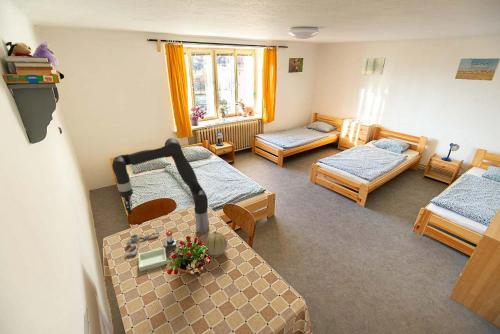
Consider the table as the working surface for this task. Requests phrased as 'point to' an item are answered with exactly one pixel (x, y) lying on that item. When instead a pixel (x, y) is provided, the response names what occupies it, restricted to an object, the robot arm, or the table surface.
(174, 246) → the tensioner block
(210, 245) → the cantaloupe
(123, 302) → the table surface
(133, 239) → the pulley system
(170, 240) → the lock pin
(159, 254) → the tray
